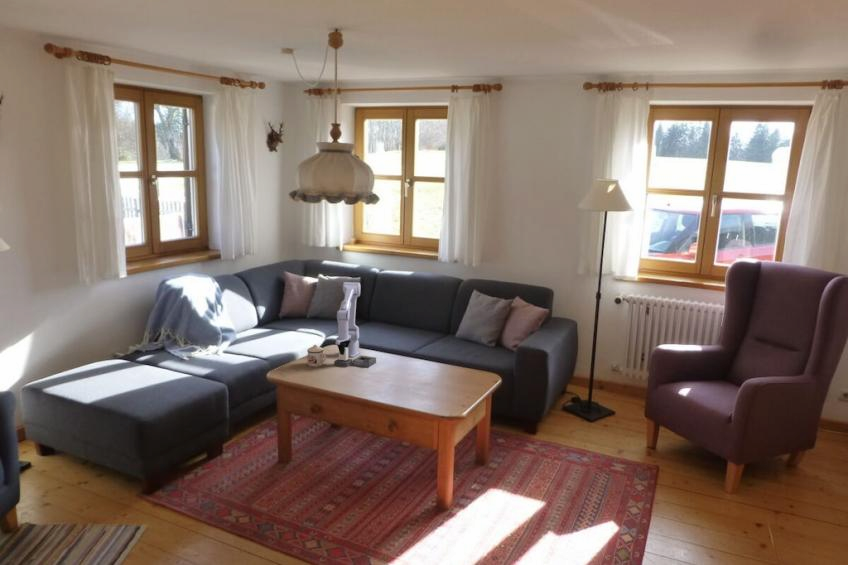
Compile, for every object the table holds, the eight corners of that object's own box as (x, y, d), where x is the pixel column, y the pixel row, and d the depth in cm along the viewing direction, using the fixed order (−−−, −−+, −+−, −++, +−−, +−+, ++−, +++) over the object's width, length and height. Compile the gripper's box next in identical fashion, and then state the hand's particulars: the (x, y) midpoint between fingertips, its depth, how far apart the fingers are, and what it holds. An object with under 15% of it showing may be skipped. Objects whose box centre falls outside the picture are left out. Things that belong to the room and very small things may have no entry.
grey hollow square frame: (340, 361, 359) (340, 357, 359) (352, 363, 356) (352, 359, 356) (334, 365, 353) (334, 361, 352) (346, 367, 350) (346, 362, 349)
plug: (341, 358, 356) (341, 346, 355) (348, 359, 355) (348, 347, 353) (338, 359, 353) (338, 347, 352) (345, 360, 352) (345, 348, 350)
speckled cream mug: (304, 365, 352) (303, 345, 349) (314, 361, 359) (314, 341, 357) (320, 369, 346) (320, 349, 344) (330, 364, 354) (330, 345, 351)
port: (360, 360, 363) (360, 354, 362) (376, 362, 359) (376, 357, 358) (352, 365, 353) (352, 359, 353) (368, 367, 350) (368, 362, 349)
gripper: (343, 326, 359) (343, 349, 361) (330, 332, 345) (331, 356, 348) (354, 328, 356) (354, 350, 359) (342, 334, 343) (342, 357, 346)
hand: (343, 353), depth 353 cm, fingers closed on plug, 3 cm apart
